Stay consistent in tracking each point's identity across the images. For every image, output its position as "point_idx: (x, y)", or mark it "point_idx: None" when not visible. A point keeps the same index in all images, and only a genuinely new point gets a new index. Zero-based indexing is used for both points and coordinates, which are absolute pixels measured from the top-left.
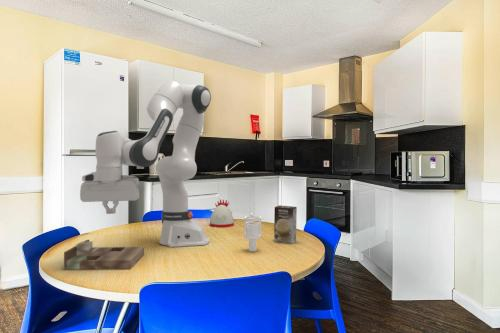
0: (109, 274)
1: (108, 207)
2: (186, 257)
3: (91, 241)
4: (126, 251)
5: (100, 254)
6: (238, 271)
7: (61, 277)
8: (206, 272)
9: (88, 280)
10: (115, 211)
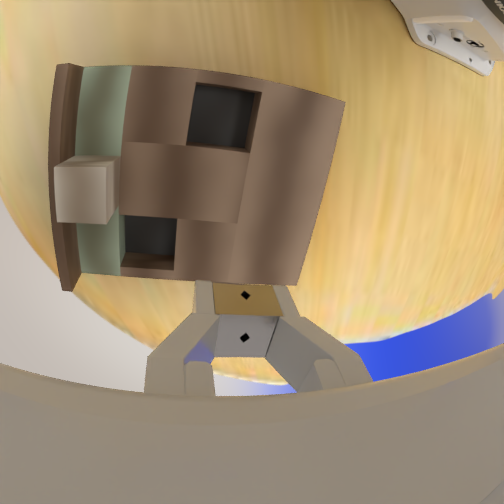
0: None
1: (212, 333)
2: (435, 183)
3: (101, 167)
4: (275, 164)
5: (167, 198)
6: (459, 295)
7: (110, 312)
8: (425, 300)
9: None
10: (286, 297)
